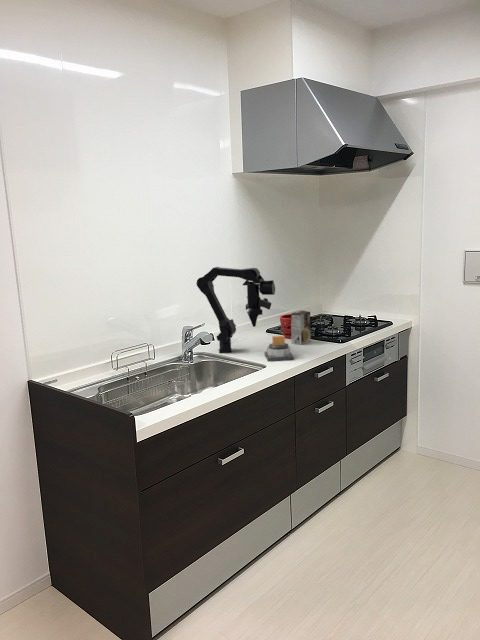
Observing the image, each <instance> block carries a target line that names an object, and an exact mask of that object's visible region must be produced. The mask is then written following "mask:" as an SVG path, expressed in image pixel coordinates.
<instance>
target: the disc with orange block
mask: <svg viewBox="0 0 480 640" xmlns="http://www.w3.org/2000/svg"><path fill="white" fill-rule="evenodd" d="M271 337H272V338H271V341H272V342H271V343H269V344H268V346H269V348H271V349H285V348H288V345H289V344H288V343H287V342H286V338H285V336H283V335H272V336H271Z"/></svg>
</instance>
